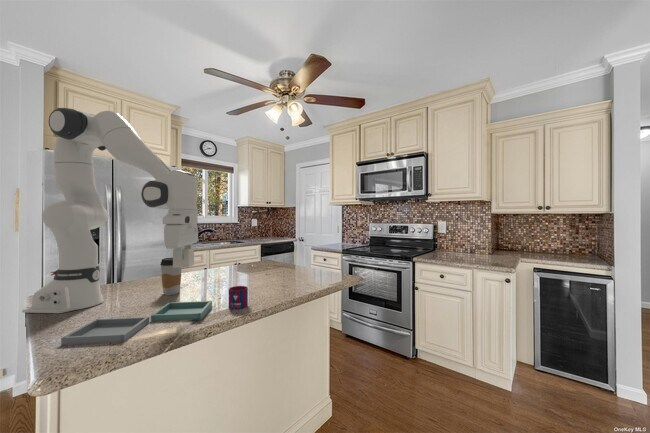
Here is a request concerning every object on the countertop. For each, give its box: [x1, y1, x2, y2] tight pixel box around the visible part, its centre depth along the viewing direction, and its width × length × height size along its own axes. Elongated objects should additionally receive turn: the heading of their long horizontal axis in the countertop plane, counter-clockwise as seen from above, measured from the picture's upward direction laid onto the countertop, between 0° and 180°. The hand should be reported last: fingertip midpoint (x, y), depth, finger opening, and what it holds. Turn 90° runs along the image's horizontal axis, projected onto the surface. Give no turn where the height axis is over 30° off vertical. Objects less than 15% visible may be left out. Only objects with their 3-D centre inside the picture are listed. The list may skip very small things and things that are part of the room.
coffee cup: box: [160, 257, 182, 296], centre depth 120 cm, size 8×8×15 cm
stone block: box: [172, 247, 195, 269], centre depth 94 cm, size 5×5×6 cm
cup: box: [228, 285, 249, 310], centre depth 104 cm, size 7×10×7 cm
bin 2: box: [150, 300, 213, 322], centre depth 94 cm, size 15×13×2 cm
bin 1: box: [60, 316, 150, 346], centre depth 78 cm, size 15×13×2 cm
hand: (183, 258), depth 94 cm, fingers closed on stone block, 5 cm apart
